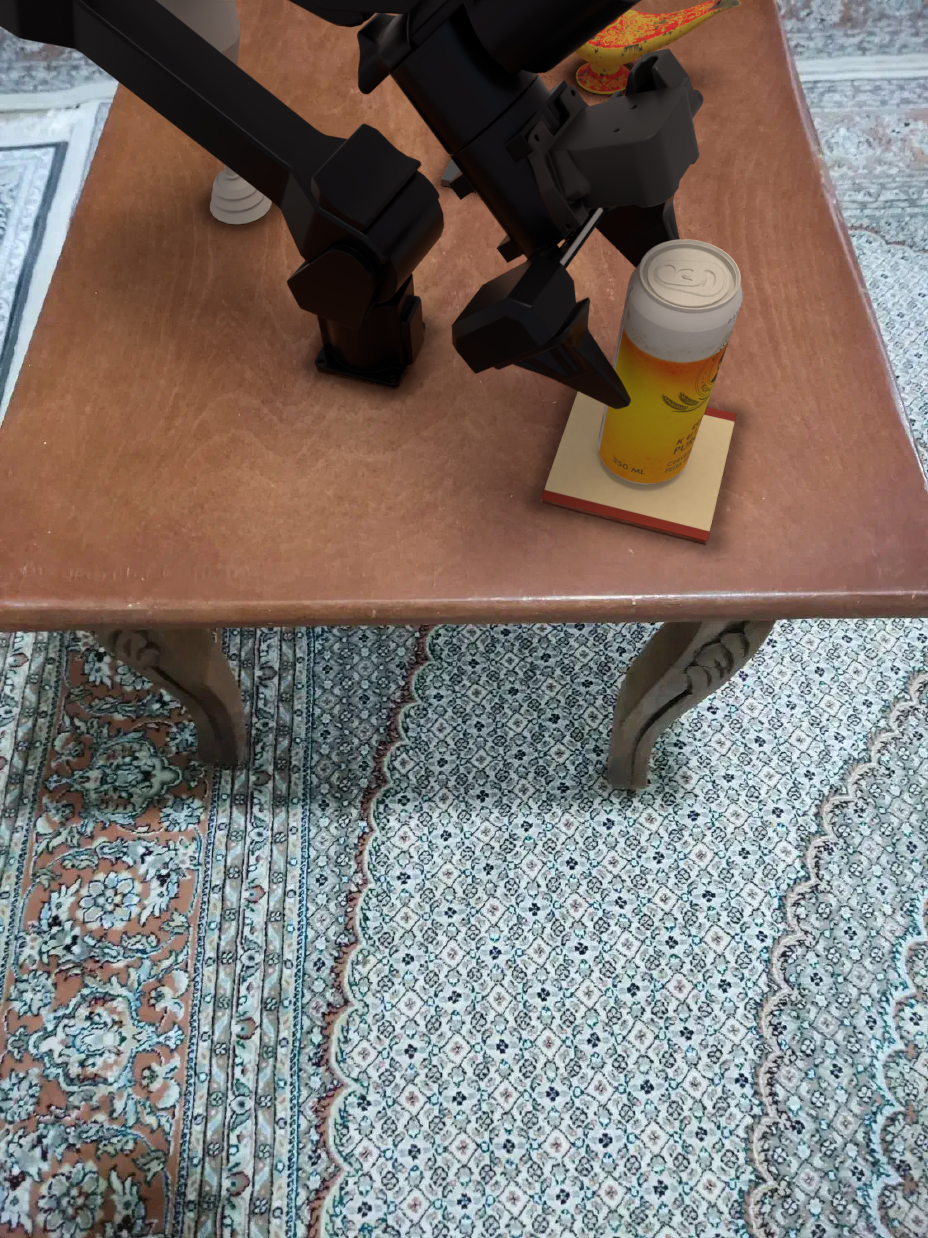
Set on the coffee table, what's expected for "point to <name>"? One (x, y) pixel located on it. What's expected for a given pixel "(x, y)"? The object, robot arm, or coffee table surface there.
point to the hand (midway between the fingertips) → (656, 352)
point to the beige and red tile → (655, 507)
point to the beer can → (669, 357)
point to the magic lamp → (637, 42)
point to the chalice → (214, 17)
